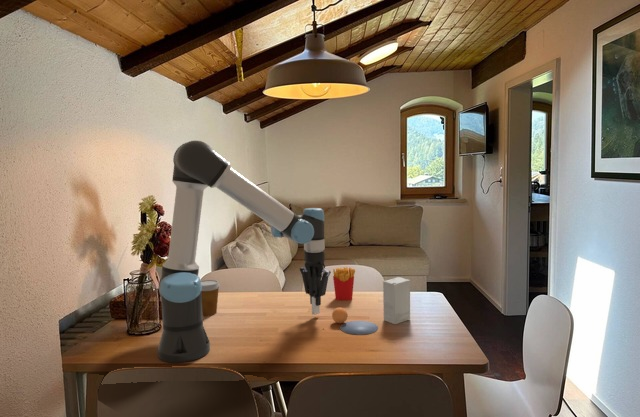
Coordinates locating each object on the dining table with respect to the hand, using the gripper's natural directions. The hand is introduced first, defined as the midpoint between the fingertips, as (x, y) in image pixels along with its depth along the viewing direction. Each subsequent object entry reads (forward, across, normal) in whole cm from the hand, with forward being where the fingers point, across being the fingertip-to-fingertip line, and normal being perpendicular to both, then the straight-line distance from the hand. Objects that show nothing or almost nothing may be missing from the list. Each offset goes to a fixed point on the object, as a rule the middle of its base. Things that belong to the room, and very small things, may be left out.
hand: (315, 313), depth 169 cm
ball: (-1, -11, 0) cm, 11 cm away
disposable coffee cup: (+2, +37, +20) cm, 42 cm away
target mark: (+1, -19, 0) cm, 19 cm away
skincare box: (+2, -26, -14) cm, 30 cm away
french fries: (+2, +4, -25) cm, 25 cm away
